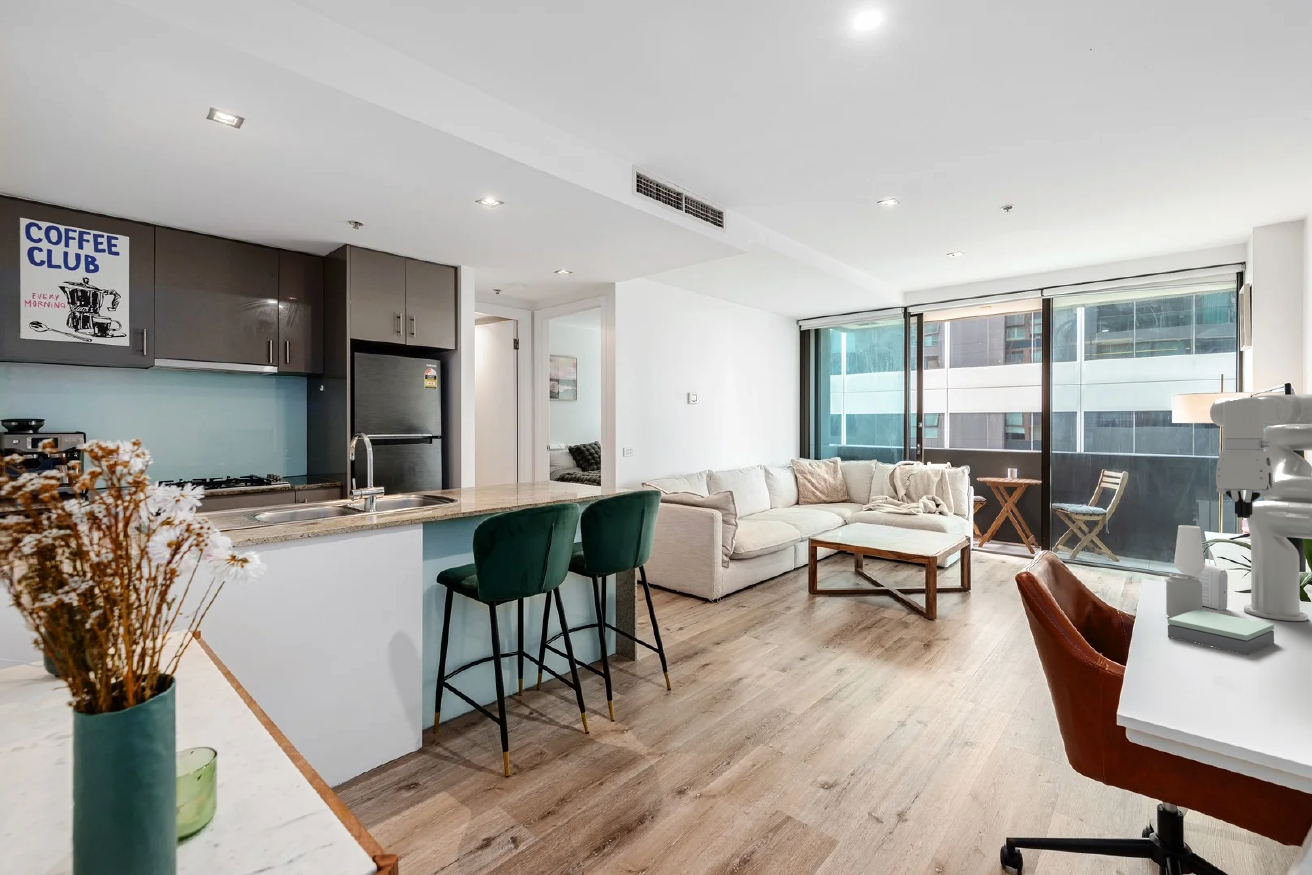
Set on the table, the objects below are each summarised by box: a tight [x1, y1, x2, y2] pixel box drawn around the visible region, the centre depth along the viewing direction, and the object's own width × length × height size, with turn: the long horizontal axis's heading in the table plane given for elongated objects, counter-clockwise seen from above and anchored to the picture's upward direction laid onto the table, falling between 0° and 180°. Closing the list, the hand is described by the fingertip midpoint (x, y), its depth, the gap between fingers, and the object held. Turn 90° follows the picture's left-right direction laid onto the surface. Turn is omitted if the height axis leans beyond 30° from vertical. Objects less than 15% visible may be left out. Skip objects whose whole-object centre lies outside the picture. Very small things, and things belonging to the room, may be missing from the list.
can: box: [1165, 573, 1203, 618], centre depth 169 cm, size 8×8×12 cm
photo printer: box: [1196, 562, 1229, 611], centre depth 183 cm, size 10×4×12 cm, turn 17°
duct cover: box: [1167, 609, 1275, 641], centre depth 153 cm, size 16×15×1 cm
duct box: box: [1167, 624, 1275, 656], centre depth 153 cm, size 16×15×3 cm
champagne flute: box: [1173, 524, 1206, 611], centre depth 178 cm, size 7×7×24 cm
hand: (1243, 517), depth 160 cm, fingers closed
